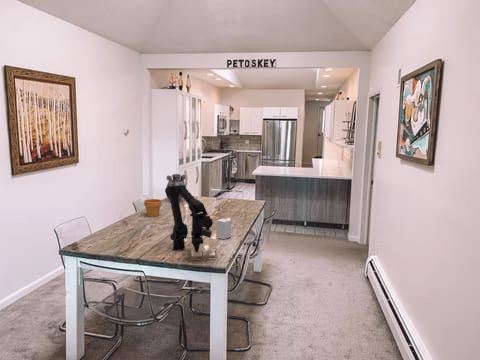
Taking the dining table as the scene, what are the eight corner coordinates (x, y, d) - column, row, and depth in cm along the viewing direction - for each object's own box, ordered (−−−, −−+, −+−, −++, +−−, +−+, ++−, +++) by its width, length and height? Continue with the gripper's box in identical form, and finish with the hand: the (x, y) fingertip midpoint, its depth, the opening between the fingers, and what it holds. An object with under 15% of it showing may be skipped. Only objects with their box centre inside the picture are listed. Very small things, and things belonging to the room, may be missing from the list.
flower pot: (140, 216, 291) (140, 201, 289) (150, 213, 304) (150, 198, 302) (155, 218, 286) (155, 203, 285) (164, 215, 300) (164, 199, 298)
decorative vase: (180, 199, 367) (180, 172, 363) (190, 202, 353) (190, 175, 349) (161, 201, 353) (162, 174, 349) (171, 205, 339) (171, 176, 335)
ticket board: (185, 260, 198) (185, 256, 198) (185, 252, 210) (185, 249, 209) (217, 259, 201) (217, 255, 200) (215, 252, 213) (215, 248, 212)
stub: (191, 256, 200) (191, 246, 199) (191, 251, 208) (191, 241, 208) (202, 256, 201) (202, 246, 200) (201, 250, 209) (201, 241, 209)
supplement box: (231, 238, 242) (231, 220, 240) (223, 240, 236) (223, 222, 234) (223, 235, 246) (223, 218, 245) (215, 237, 241) (216, 219, 239)
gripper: (212, 229, 194) (211, 256, 197) (209, 220, 213) (209, 245, 215) (192, 229, 193) (191, 256, 195) (191, 220, 211) (190, 245, 213)
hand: (196, 250), depth 204 cm, fingers closed on stub, 3 cm apart
